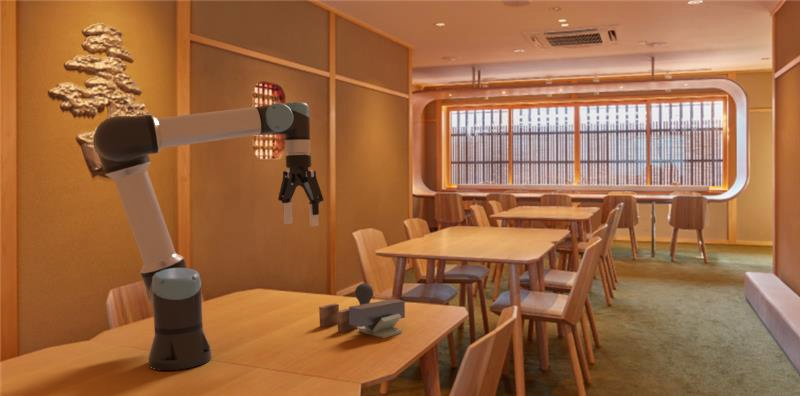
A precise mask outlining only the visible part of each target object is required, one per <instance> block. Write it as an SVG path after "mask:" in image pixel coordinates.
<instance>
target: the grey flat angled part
mask: <svg viewBox="0 0 800 396" xmlns="http://www.w3.org/2000/svg"><path fill="white" fill-rule="evenodd" d="M400 318H401V315H400V314H396V315H392V316H388V317H384V318H381V320H380V321H379V322H378V323H377V324H372V325H368V326H363V327H358V332H360V333H364V334H367V335H371V336H375V337H378V338H382V339H386V338H391V337H393V336H396V335H399V334H402V333H403V332H402V330H403V329H401V328H397V327H395V325H396V324H397V323H398V322H399V321H400ZM401 319H402V318H401Z"/></svg>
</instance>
